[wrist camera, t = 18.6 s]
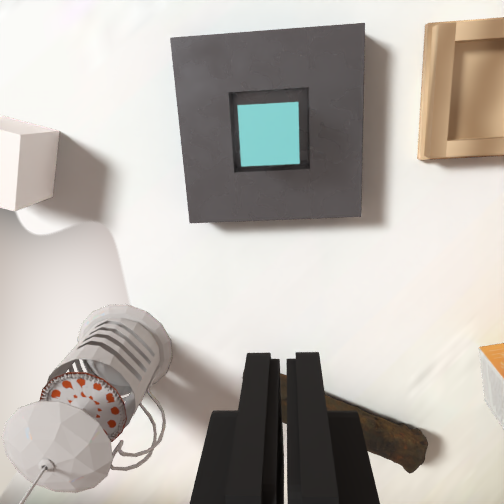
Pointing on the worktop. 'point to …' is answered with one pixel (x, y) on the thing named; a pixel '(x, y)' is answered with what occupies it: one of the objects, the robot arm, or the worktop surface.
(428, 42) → the wooden square tray
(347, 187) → the port panel
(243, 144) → the plug
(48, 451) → the french press
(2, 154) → the white cube
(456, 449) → the worktop surface
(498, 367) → the small box
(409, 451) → the hand tool
